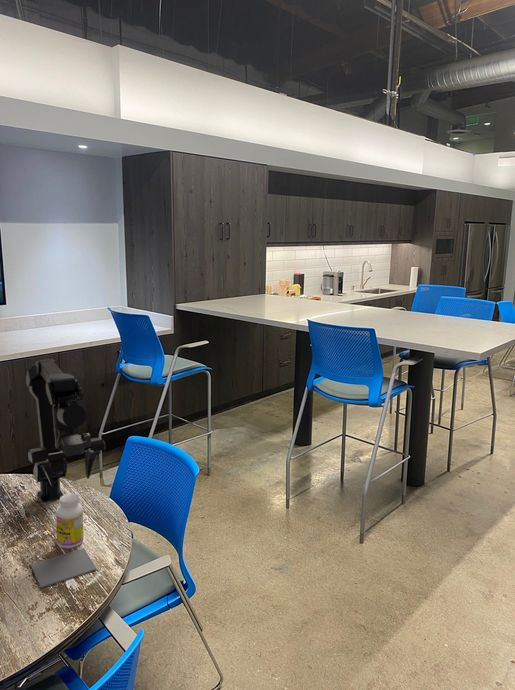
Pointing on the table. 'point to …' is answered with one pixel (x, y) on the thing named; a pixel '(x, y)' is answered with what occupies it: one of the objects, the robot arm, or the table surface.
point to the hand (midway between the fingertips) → (70, 482)
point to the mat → (62, 567)
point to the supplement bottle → (69, 521)
